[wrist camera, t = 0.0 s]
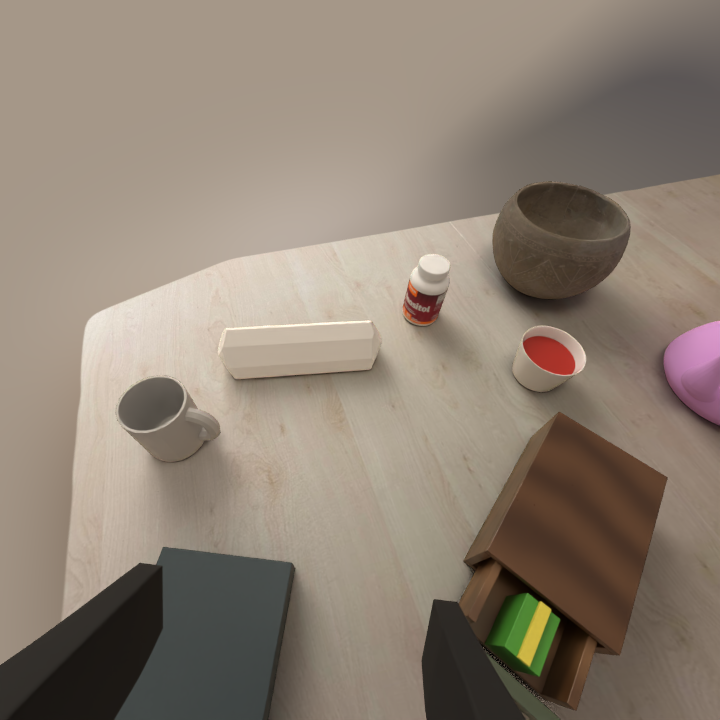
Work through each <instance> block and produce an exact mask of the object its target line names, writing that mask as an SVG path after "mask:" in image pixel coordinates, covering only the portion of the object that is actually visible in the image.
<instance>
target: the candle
mask: <svg viewBox="0 0 720 720" xmlns="http://www.w3.org/2000/svg"><path fill="white" fill-rule="evenodd" d="M585 364H586V355H585V352H584V350H583V348H582V346H581V345H580V344H579V342H578V341H577V340H576V339H575V338H573V337H572V336H571V335H569V334H568V333H566V332H564V331H562V330H560V329H558V328H554V327H550V326H536V327H532V328H530V329H529V330H527V331H526V332H525V333H524V335H523V337H522V340H521V342H520V345H519V348H518V351H517V353H516V356H515V359H514V362H513V366H512V370H513V374H514V376H515V378H516V379H517V380H518V382H519V383H520V384H522V385H523V386H524V387H526V388H528V389H530V390H533V391H536V392H546V391H549V390H552V389H553V388H555V387H557V386H558V385H560V384H562V383H563V382H565V381H566V380H568V379H570V378H571V377H573V376H574V375H576V374H578V373H579V372H580V371H582V370H583V368H584V367H585Z"/></svg>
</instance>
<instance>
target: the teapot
mask: <svg viewBox="0 0 720 720" xmlns="http://www.w3.org/2000/svg"><path fill="white" fill-rule="evenodd" d="M664 370H665V375H666V378H667V381H668V383H669V385H670V387H671V388H672V390H673V391H674V393H675V394H676V395H677V396H678V397H679V399H680V400H681V401H682V402H683V403H684V404H685V405H687V406H688V407H689V408H690V409H691V410H693V411H694V412H695V413H697V414H698V415H700V416H701V417H703V418H705V419H707V420H708V421H710V422H712V423H715V424H717V425H720V321H716V322H712V323H708V324H705V325H702V326H699V327H697V328H694V329H692V330H690V331H688V332H686V333H684V334H682V335H681V336H679V337H677V338H676V339H675V340H673V341H672V342H671V343H670V344H669V345H668V347H667V349H666V351H665V354H664Z"/></svg>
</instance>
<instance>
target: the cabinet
mask: <svg viewBox="0 0 720 720" xmlns="http://www.w3.org/2000/svg"><path fill="white" fill-rule="evenodd" d="M666 482H667V477H666V476H664V475H663V474H661V473H659V472H658V471H656V470H654V469H653V468H651V467H649V466H648V465H646V464H644V463H643V462H641V461H640V460H638V459H636V458H635V457H633V456H631V455H630V454H628V453H626V452H625V451H623V450H621V449H620V448H618V447H617V446H615V445H613V444H612V443H610V442H608V441H607V440H605V439H603V438H602V437H600V436H598V435H597V434H595V433H594V432H592V431H590V430H589V429H587V428H585V427H584V426H582V425H580V424H579V423H577V422H575V421H574V420H572V419H571V418H569V417H567V416H566V415H564V414H562V413H561V412H558V413H557V414H556V415H555V416H554V417H553V418H552V419H551V420H549V421H548V422H547V423H546V424H545V425H544V426H543V427H542V428H541V429H540V430H539V431H537V432H536V433H535V434H534V435H533V436H532V437H531V439H530V440H529V442H528V444H527V446H526V448H525V450H524V451H523V453H522V455H521V457H520V459H519V460H518V462H517V464H516V466H515V468H514V470H513V471H512V473H511V475H510V477H509V479H508V480H507V482H506V484H505V486H504V488H503V490H502V491H501V493H500V495H499V497H498V499H497V501H496V502H495V504H494V506H493V508H492V510H491V511H490V513H489V515H488V517H487V519H486V521H485V522H484V524H483V526H482V528H481V530H480V532H479V533H478V535H477V537H476V539H475V541H474V542H473V544H472V546H471V548H470V550H469V552H468V553H467V555H466V557H465V559H464V562H465V563H466V564H467V565H469V566H470V567H471V568H472V569H474V570H475V571H476V569H477V567H478V565H479V563H480V562H481V561H483V560H485V559H487V558H490V557H492V558H493V559H494V560H496V561H497V562H498V563H499V564H501V565H502V566H503V567H504V568H506V569H507V570H508V571H510V572H511V573H512V574H513V575H515V576H516V577H517V578H518V579H520V580H521V581H522V582H523V583H525V584H526V585H527V586H528V587H530V588H531V589H532V590H533V591H535V592H536V593H537V594H538V595H540V596H541V597H542V598H543V599H545V600H546V601H547V602H548V603H550V604H551V605H552V606H554V607H555V608H556V609H557V610H559V611H560V612H561V613H562V614H564V615H565V616H566V617H567V618H569V619H570V620H571V621H572V622H574V623H575V624H576V625H577V626H579V627H580V628H581V629H582V630H584V631H585V632H586V633H587V634H589V635H590V636H591V637H592V638H594V639H595V640H596V641H597V645H596V648H595V651H594V653H600V654H609V655H620V654H621V650H622V646H623V643H624V639H625V635H626V631H627V628H628V624H629V620H630V616H631V613H632V609H633V605H634V601H635V598H636V594H637V590H638V587H639V583H640V579H641V575H642V572H643V568H644V564H645V560H646V557H647V553H648V549H649V545H650V542H651V538H652V534H653V530H654V527H655V523H656V519H657V516H658V512H659V508H660V504H661V501H662V497H663V493H664V489H665V486H666Z"/></svg>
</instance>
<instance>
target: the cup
mask: <svg viewBox="0 0 720 720" xmlns="http://www.w3.org/2000/svg"><path fill="white" fill-rule="evenodd" d="M115 414H116V418H117V421H118V422H119V424H120V425H121V426H122V427H123V428H124V429H125V430H126V431H127V432H128V433H129V434H130V435H131V436H132V437H133V438H134V439H135V440H136V441H138V442H139V443H140V444H141V445H142V446H143V447H144V448H145V449H146V450H147V451H148V452H149V453H150V454H151V455H153V456H154V457H156V458H157V459H159V460H162V461H165V462H176V461H180V460H183V459H185V458H187V457H190V456H191V455H192V454H194V453H195V452H196V451H197V450H198V449H199V448H200V447H201V446H202V444H203V442H204V440H214V439H216V438H217V437H218V436H219V434H220V425H219V423H218V421H217V420H216V419H215V418H214V417H213V416H212V415H210V414H209V413H207V412H204V411H202V410H199V409H198V408H197V406H196V405H195V403H194V402H193V400H192V398H191V397H190V395H189V393H188V392H187V390H186V389H185V387H184V386H183V384H182V383H181V382H180V381H179V380H177V379H175V378H173V377H170V376H163V375H157V376H151V377H147V378H145V379H142V380H140V381H138V382H136V383H135V384H133V385H131V386H130V387H129V388H128V389H127V390H126V391H125V392H124V393H123V394H122V396H121V397H120V398H119V401H118V403H117V405H116V413H115Z"/></svg>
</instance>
